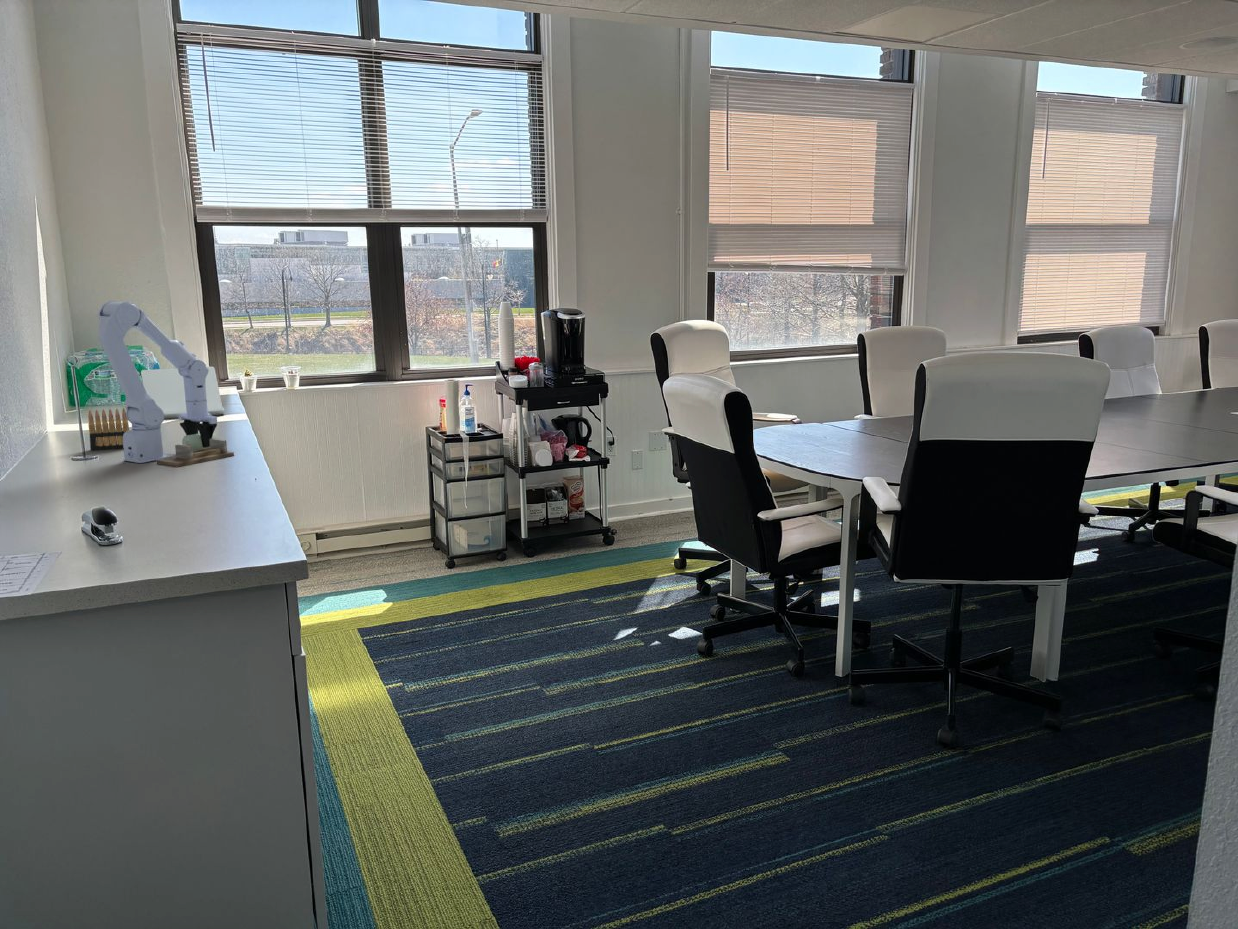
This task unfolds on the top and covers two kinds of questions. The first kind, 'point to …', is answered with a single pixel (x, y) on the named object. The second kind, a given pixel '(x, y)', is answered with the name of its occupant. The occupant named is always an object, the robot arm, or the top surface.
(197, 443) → the roll
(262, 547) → the top surface
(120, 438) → the ammunition clip
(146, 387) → the tablet stand
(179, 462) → the holder
